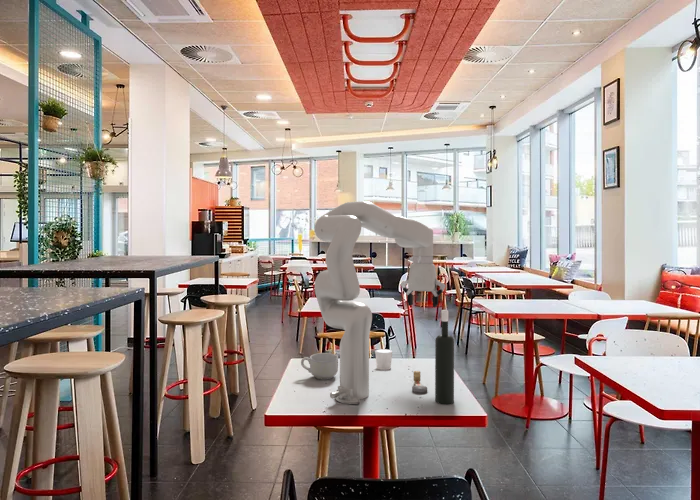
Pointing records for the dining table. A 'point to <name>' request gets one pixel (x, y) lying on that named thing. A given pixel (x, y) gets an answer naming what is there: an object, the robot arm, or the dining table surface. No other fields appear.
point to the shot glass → (383, 359)
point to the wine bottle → (444, 364)
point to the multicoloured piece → (418, 384)
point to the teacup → (322, 365)
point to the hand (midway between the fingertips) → (422, 306)
